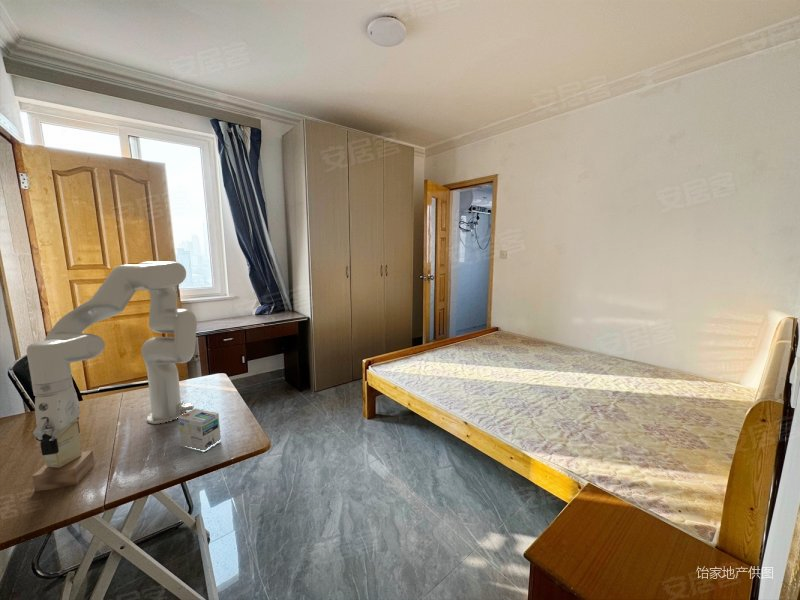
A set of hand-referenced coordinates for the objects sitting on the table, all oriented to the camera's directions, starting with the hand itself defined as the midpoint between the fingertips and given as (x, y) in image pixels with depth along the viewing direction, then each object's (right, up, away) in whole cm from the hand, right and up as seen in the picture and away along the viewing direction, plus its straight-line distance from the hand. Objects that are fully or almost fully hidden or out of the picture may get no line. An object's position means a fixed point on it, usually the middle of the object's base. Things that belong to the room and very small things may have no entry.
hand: (62, 443), depth 93 cm
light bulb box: (+28, -8, +18) cm, 34 cm away
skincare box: (-1, -6, +2) cm, 6 cm away
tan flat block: (-1, -11, +2) cm, 11 cm away
